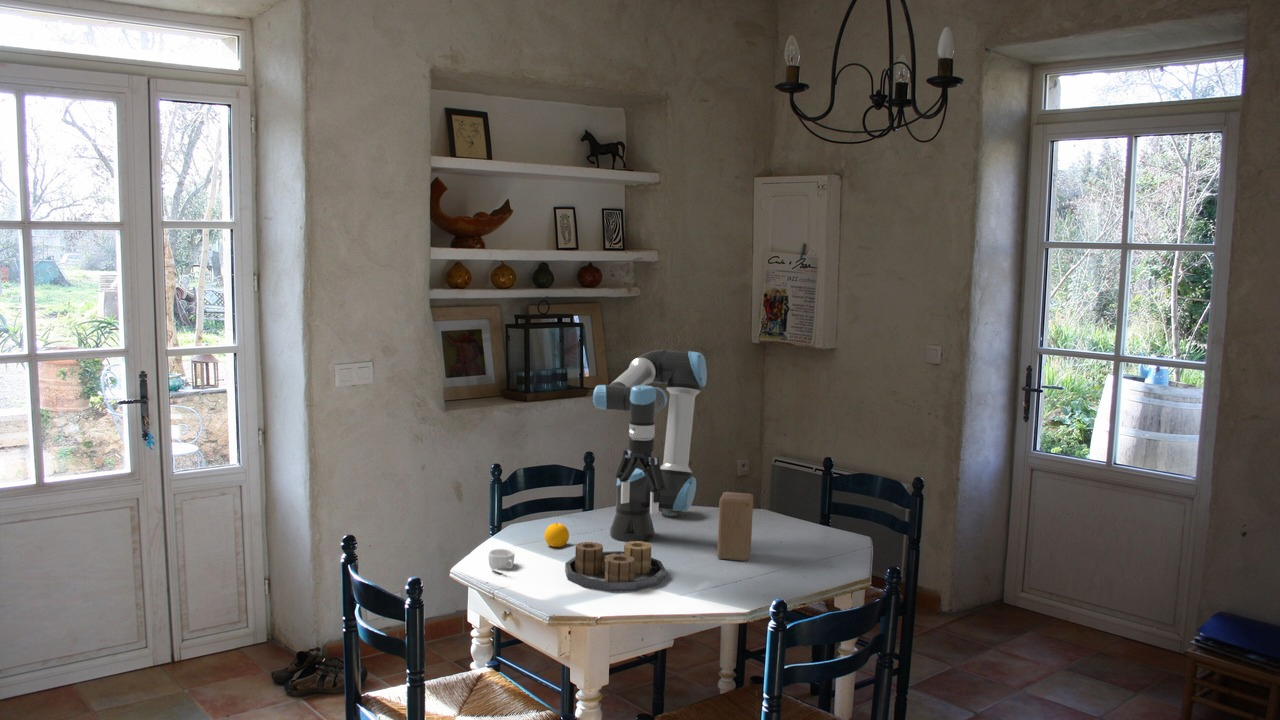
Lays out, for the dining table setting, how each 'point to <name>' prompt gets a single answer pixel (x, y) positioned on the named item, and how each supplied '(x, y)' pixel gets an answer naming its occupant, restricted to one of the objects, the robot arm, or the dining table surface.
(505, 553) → the teacup
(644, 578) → the carrier
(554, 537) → the orange
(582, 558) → the seated gear
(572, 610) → the dining table surface
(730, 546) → the wooden block
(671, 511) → the bowl
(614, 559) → the seated gear
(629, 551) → the planet gear
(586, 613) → the dining table surface
